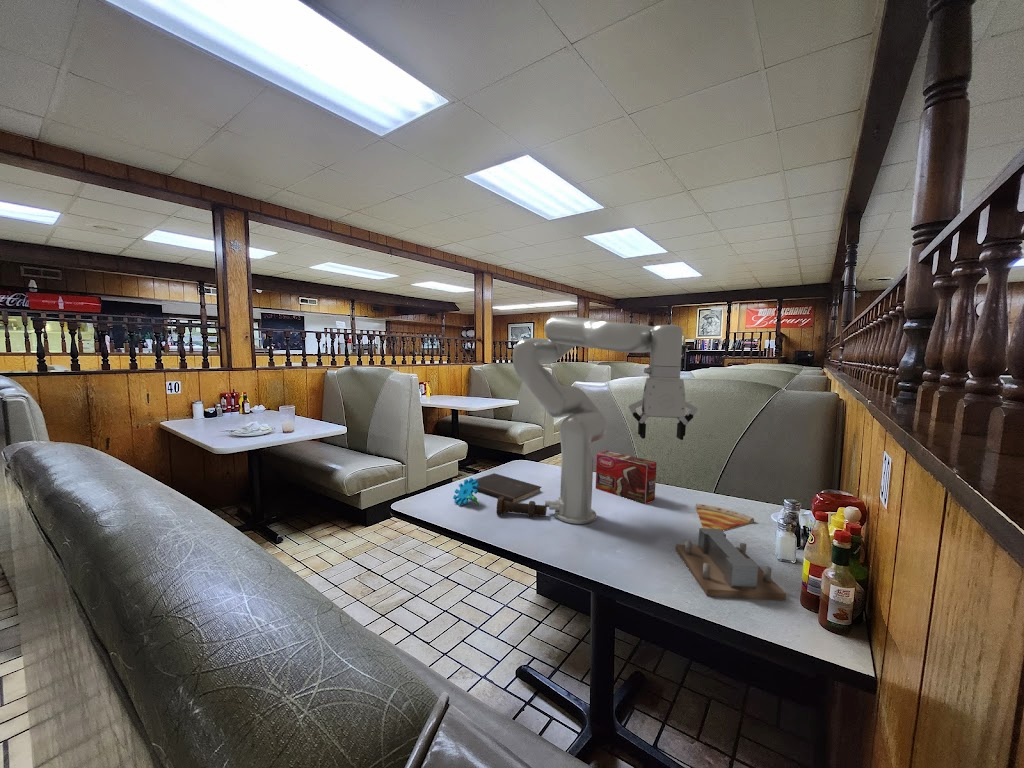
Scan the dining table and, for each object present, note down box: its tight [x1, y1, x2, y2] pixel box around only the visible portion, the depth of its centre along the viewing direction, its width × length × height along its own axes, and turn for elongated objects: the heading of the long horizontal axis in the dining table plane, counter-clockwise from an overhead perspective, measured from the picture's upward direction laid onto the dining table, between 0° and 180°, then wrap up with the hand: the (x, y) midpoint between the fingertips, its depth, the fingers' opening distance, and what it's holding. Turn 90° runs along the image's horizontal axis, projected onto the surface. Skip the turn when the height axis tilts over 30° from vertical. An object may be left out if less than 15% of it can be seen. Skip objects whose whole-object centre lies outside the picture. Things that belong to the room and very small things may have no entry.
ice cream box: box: [595, 450, 658, 505], centre depth 148 cm, size 20×6×13 cm, turn 42°
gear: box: [452, 477, 481, 506], centre depth 137 cm, size 11×6×10 cm
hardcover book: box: [473, 472, 542, 502], centre depth 150 cm, size 16×23×2 cm
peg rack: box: [675, 539, 787, 601], centre depth 97 cm, size 16×20×4 cm
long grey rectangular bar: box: [697, 527, 759, 589], centre depth 97 cm, size 5×18×5 cm, turn 177°
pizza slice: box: [695, 503, 755, 532], centre depth 128 cm, size 16×22×2 cm
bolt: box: [495, 496, 548, 518], centre depth 128 cm, size 6×5×15 cm
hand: (661, 438), depth 109 cm, fingers open, 9 cm apart
